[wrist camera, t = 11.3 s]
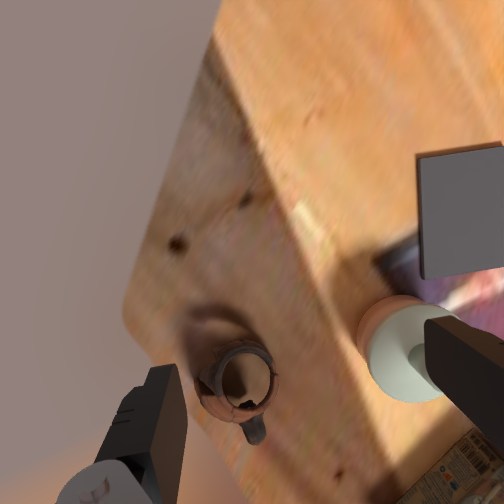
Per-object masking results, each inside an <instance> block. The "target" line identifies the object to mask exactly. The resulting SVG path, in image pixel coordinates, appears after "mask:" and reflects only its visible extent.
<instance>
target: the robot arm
mask: <svg viewBox="0 0 504 504" xmlns="http://www.w3.org/2000/svg"><path fill="white" fill-rule="evenodd" d="M424 349H425V366H426V370H427V373H428V375H429V377H430V379H431V381H432V382H433V383H434V384H435V385H436V386H437V387H438V388H439V389H440V390H441V391H442V392H443V393H444V394H445V395H446V396H447V397H448V398H449V399H450V400H451V401H452V402H453V403H454V404H455V405H456V406H457V407H458V408H459V409H460V410H461V411H462V412H463V413H464V414H465V415H466V416H467V417H468V418H469V419H470V420H471V421H472V422H473V423H474V424H475V425H476V426H477V427H478V428H479V429H480V430H481V431H482V432H483V433H484V434H486V435H487V436H488V437H489V438H490V439H491V440H492V441H493V442H494V443H495V444H496V445H497V446H498V447H499V448H500V449H501V450H502V451H503V452H504V341H503V340H502V339H500V338H498V337H497V336H495V335H493V334H491V333H489V332H486V331H483V330H479V329H476V328H473V327H471V326H469V325H467V324H466V323H464V322H462V321H461V320H459V319H457V318H456V317H454V316H452V315H448V316H442V317H436V318H431V319H427V320H426V321H425V322H424ZM187 422H188V421H187V409H186V404H185V399H184V395H183V390H182V386H181V381H180V377H179V372H178V368H177V366H176V364H175V363H174V364H168V365H162V366H157V367H151V368H150V370H149V373H148V375H147V378H146V381H145V383H144V386H138V387H134V388H133V389H132V390H131V391H130V392H129V393H128V394H127V395H126V396H125V397H124V399H123V400H122V402H121V404H120V406H119V408H118V411H117V415H115V417H114V419H113V422H112V426H110V428H109V431H108V432H107V435H106V437H105V439H104V441H103V444H102V446H101V448H100V450H99V452H98V454H97V457H96V459H95V461H94V463H93V464H92V465H90V466H88V467H86V468H85V469H83V470H81V471H80V472H79V473H77V474H76V475H75V476H74V477H73V478H71V479H70V481H68V483H67V484H66V485H65V486H64V487H63V489H62V490H61V492H60V494H59V496H58V498H57V502H56V504H176V503H177V496H178V490H179V483H180V476H181V469H182V462H183V455H184V448H185V441H186V434H187V426H188V423H187Z"/></svg>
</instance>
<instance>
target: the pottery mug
mask: <svg viewBox="0 0 504 504" xmlns="http://www.w3.org/2000/svg"><path fill="white" fill-rule="evenodd" d="M212 350H213V351H214V354H215V357H216V361H217V362H216V363H211V364H210V365H208V366H207V367H206V368H205V369H203V370H202V371H201V372H200V377H199V379H200V380H201V381H203V382H204V383H205V384H206V386H208V387H209V388H210V389H211V390H212V391H213V392H214V393H215V394H213V395H207V394H204V393H203V392H202V390H201V388H200V385H199V382H198V379H197V378H195V379H194V387H195V391H196V393H197V396H198V398H199V399H200V403H201V405H202V406H203V407H204V408H205V409H206V411H207V412H208V413H210V414H211V415H212V416H214V417H216V418H218V419H220V420H222V421H225V422H233V423H237V424H239V425H240V426H241V427H242V429H243V432H244V434H245V436H246V439H247V441H248V443H249V444H251V445H259V444H260V443H261V442H263V440H264V438H265V436H266V429H265V425H264V422H263V414H264V411H265V410H266V409H267V408H268V407H269V406H270V404H271V403H272V402H273V400H274V398H275V397H276V394H277V391H278V387H279V376H278V374H276V371H275V363H274V360H273V358H272V356H271V354H270V353H269V352H268V350H267V348H265V347H264V346H263V345H261V344H259V343H257V342H255V341H252V340H248V339H241V341H239V340H234V341H231V342H229V343H227V344H225V345H222V346H217V347H214V348H212ZM241 353H252V354H255V355H258V356H259V357H260V358H262V359H263V360H264V361H265V363H266V364H267V365H268V367H269V370H270V386H269V390H268V393H267V395H266V396H265V398H264V399H263V400H262V401H261V402H260V403H259V404H258V405H256V404H255V403H253V401H252V400H248V401H246V402H244V403H241V404H240V405H239V407H236V406H234V405H233V404H232V403H231V402H230V401H229V400H228V399H227V398H226V396H225V394H224V393H223V389H222V375H223V371H224V369H225V367H226V364H227V363H228V362H229V361H230V360H231V359H232V358H233V357H235V356H236V355H238V354H241Z"/></svg>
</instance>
